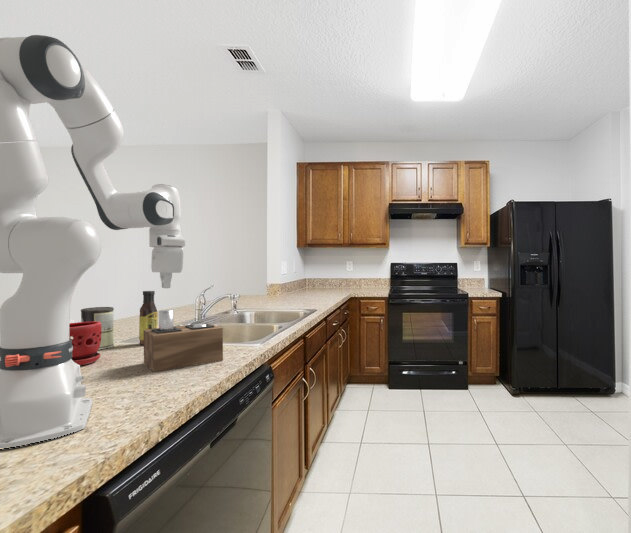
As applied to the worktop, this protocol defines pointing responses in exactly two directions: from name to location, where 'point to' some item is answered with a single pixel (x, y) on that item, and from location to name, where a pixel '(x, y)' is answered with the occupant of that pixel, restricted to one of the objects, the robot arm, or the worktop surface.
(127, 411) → the worktop surface
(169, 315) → the near peg
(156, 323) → the sauce bottle
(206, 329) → the socket block
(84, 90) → the robot arm
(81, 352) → the plant pot
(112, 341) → the coffee can
